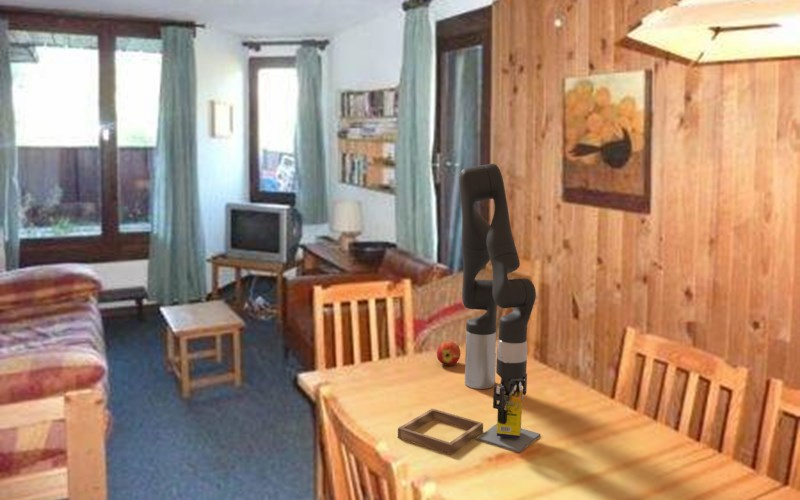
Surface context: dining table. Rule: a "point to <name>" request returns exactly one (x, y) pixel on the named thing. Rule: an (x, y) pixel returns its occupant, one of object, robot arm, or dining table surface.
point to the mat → (509, 439)
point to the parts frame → (437, 444)
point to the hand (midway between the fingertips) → (509, 417)
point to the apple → (448, 353)
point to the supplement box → (512, 418)
